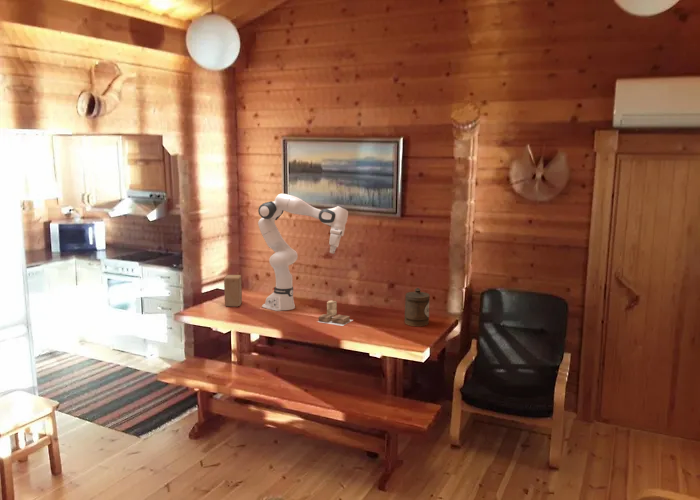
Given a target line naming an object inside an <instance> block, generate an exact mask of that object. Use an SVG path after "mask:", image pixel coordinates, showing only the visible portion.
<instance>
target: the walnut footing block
mask: <svg viewBox="0 0 700 500" xmlns="http://www.w3.org/2000/svg"><path fill="white" fill-rule="evenodd" d="M332 317H333V316H332V315H327V313H323V314H320V315H319V316H318V321H321V322H329V321H331V320H332ZM321 322H320V323H321Z"/></svg>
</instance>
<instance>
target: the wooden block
mask: <svg viewBox="0 0 700 500" xmlns="http://www.w3.org/2000/svg"><path fill="white" fill-rule="evenodd" d="M223 286H224V287H223V289H224V291H223V292H224V306H225V307H230V308H231V307H238V306H239V307H240V306H241V305H242V303H243V292H242V291H243V290H242V287H243V286H242V274H227V275H226V276H225V277H224V278H223Z"/></svg>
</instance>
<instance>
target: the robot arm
mask: <svg viewBox="0 0 700 500" xmlns="http://www.w3.org/2000/svg"><path fill="white" fill-rule="evenodd" d="M257 211H258V215H259V216H260V217H261V218H260V219H259V220H258V221H257V225H258V228H259V231H260V233H261V235H262V236H261V237H262V238H263V239H264V242H265V243H266V245H267V247H268V248H270V249H271V250H273V254H272V255H270V257H269V262H268V263H269V265H270V266H271V268H272V269H273V271H274V275H275V286H274V287H273V288H272V291H273V292H272V293H270V295H268V296H267V297H266V298H265V303H263V304H262V305H261V308H265V309H267V310H270V311H271V310H272V311H274V312H280V311H290V310H294V309H296V305H295V301H294V287H293V284H294V283H293V274H292V273H291V272H290V269H289V267H290V266H291V265H293V264H294V263H296V261H297V260H298V252H297V251H296V250H295V249H293V248H292V247H291V246H290V245H289V244H288V243H287V241H286V240H285V239H284V238H283V236H282V234H281V232H280V231H279V229H278V226H277V225H276V222H275V221H277V220H278V219H279V218H280V217H282V215H283V213H284V211H285V212H287V213H289V214H294V215H299V216H307V217H311V218H314V219H316V220H319V221H320V222H321V223H322V224H324V225H326V226H329V227H330V231H329V234H330V236H329V239H328V241H329V243H328V244H329V245H330V247H329V253H330V254H333V255H334V254H335V252H336V250H337V248H339V246H340V245H339V244H340V241H341V238H342V237H344V236H345V230H346V224H347V222H348V217H349V211H348V209H347V208H345V207H343V206H340V205H337V206H335V207H332V208H323V209H319V208H316V207H314V206H312V205H310V204H309V203H307V202H306V201H304V200H303V199H301V198H300V197H298V196H295V195H292V194H288V193H279V194H277V195H276V197H275V198H274V201H267V202H264V203H262V204H261V205H260V206H258V210H257Z"/></svg>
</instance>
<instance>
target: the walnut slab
mask: <svg viewBox="0 0 700 500" xmlns="http://www.w3.org/2000/svg"><path fill="white" fill-rule="evenodd" d="M350 317H351V316H350V315H345V314H344V315H343V314H338V313H337V315H335V316H332V323H338V324H345V323H347V322H349V321H350V320H351V318H350ZM349 323H350V322H349ZM347 324H348V323H347ZM345 325H346V324H345Z"/></svg>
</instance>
